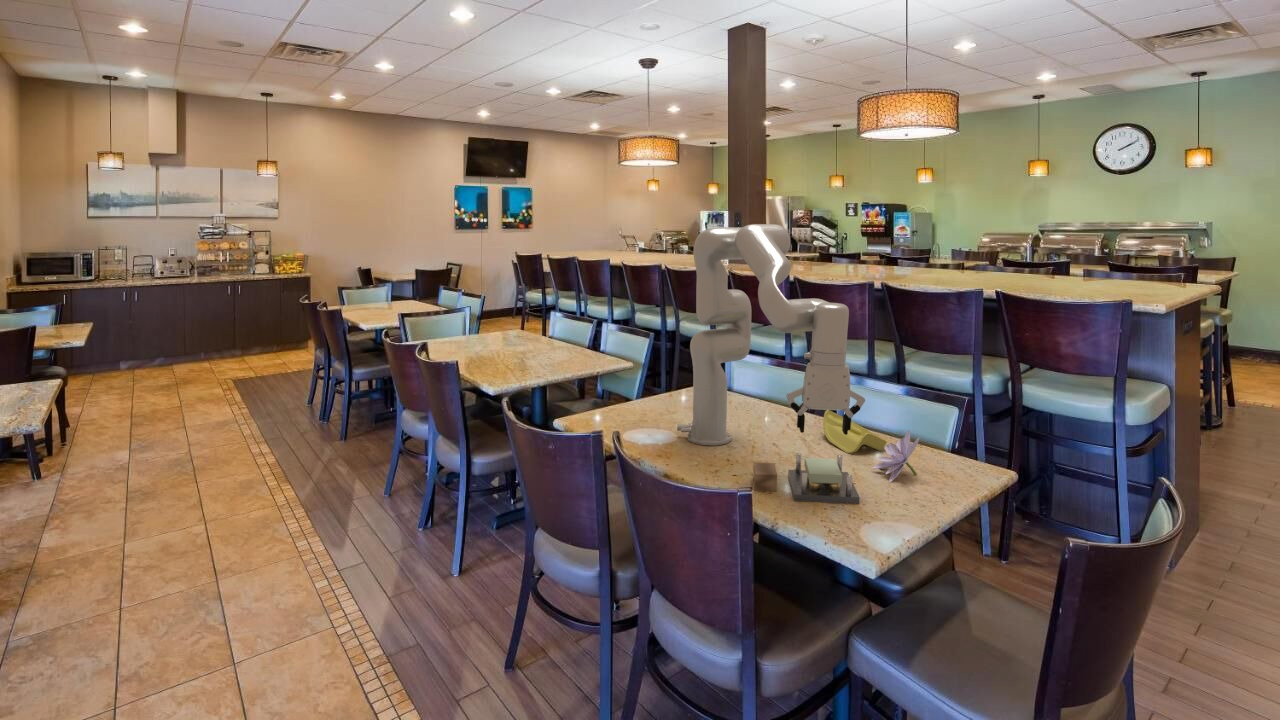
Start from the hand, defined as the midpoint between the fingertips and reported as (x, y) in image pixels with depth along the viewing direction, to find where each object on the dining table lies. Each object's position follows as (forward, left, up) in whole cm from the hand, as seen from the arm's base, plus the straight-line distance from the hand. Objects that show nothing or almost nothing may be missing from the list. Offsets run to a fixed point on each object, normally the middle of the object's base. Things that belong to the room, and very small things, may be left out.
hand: (823, 431), depth 156 cm
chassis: (0, 0, -14) cm, 14 cm away
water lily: (+19, +12, -14) cm, 27 cm away
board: (0, 0, -10) cm, 10 cm away
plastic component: (+13, +36, -14) cm, 41 cm away
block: (-13, +1, -14) cm, 19 cm away
